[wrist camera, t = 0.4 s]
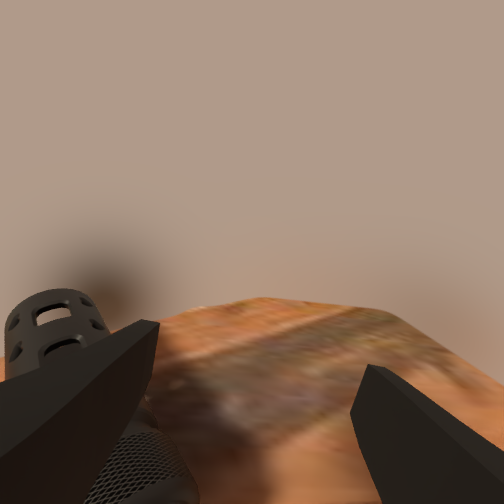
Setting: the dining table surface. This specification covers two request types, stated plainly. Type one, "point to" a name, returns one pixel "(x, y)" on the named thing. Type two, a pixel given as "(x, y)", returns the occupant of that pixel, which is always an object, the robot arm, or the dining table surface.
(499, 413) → the dining table surface
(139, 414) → the muzzle brake
